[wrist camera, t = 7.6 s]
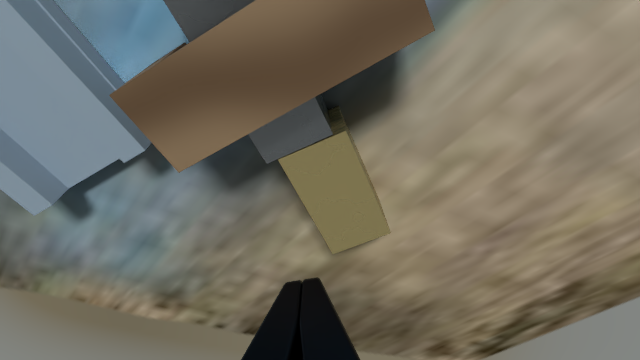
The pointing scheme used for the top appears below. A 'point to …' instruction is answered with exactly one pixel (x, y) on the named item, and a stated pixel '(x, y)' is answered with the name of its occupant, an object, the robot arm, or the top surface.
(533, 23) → the top surface
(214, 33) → the beam
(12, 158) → the cradle
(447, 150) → the top surface
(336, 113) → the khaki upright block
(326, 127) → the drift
